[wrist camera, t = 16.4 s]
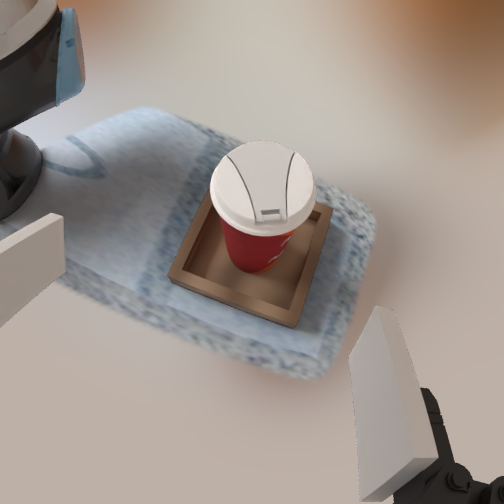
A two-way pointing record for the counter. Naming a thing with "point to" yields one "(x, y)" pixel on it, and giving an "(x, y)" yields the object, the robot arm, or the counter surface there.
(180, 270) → the walnut tray
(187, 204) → the counter surface
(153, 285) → the counter surface
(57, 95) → the robot arm
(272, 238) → the coffee cup
